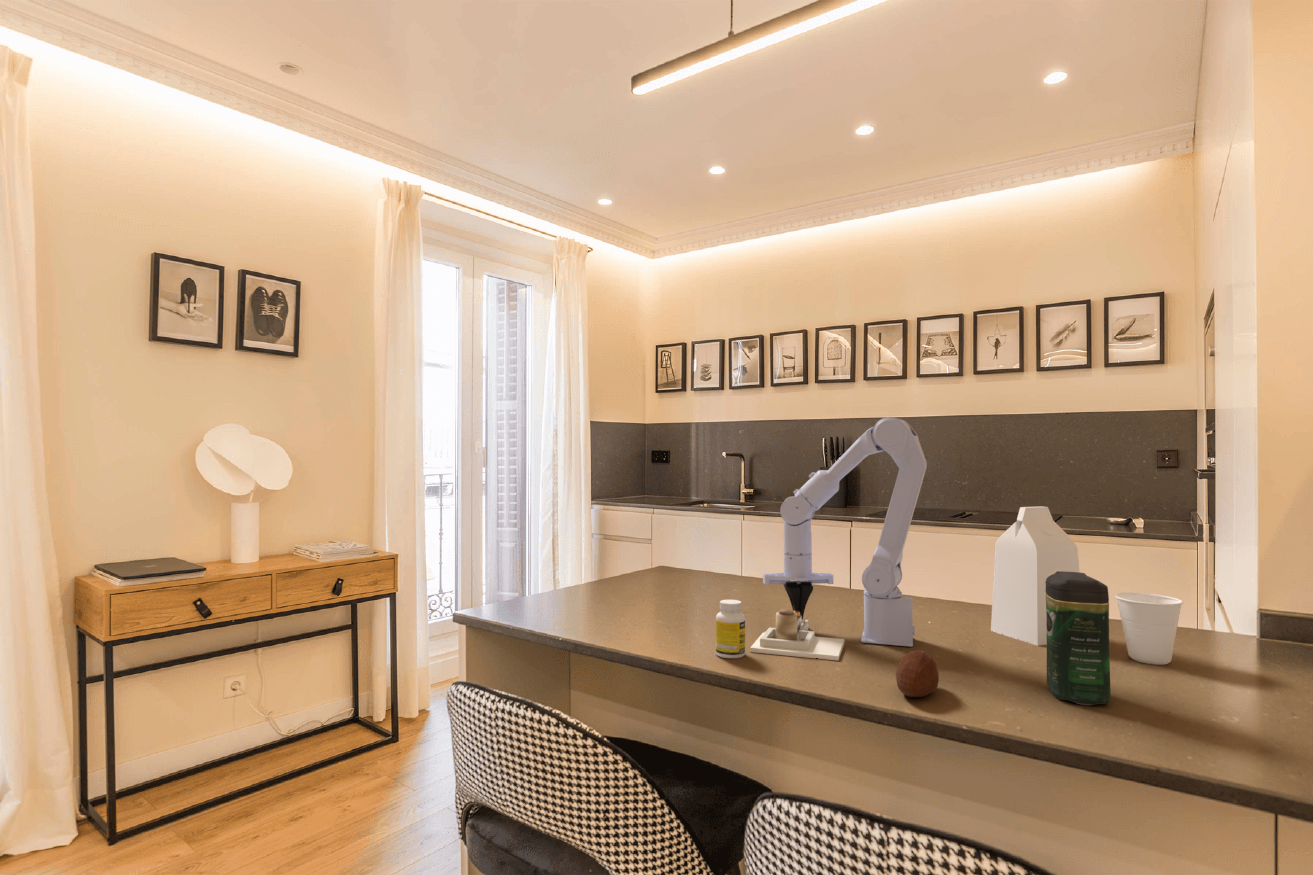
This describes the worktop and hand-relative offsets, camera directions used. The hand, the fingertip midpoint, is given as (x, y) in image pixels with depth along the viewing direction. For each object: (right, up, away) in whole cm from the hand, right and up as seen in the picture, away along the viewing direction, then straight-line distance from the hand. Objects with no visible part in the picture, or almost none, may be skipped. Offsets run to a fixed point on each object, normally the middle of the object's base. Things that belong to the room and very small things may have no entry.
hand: (798, 618), depth 143 cm
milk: (+47, -2, -5) cm, 48 cm away
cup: (+58, -2, -22) cm, 62 cm away
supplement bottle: (-16, -2, -18) cm, 24 cm away
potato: (+10, -2, -38) cm, 40 cm away
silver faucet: (-2, -2, -5) cm, 6 cm away
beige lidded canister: (-5, -2, -13) cm, 14 cm away
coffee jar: (+34, -1, -40) cm, 53 cm away
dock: (-1, -2, -8) cm, 9 cm away
